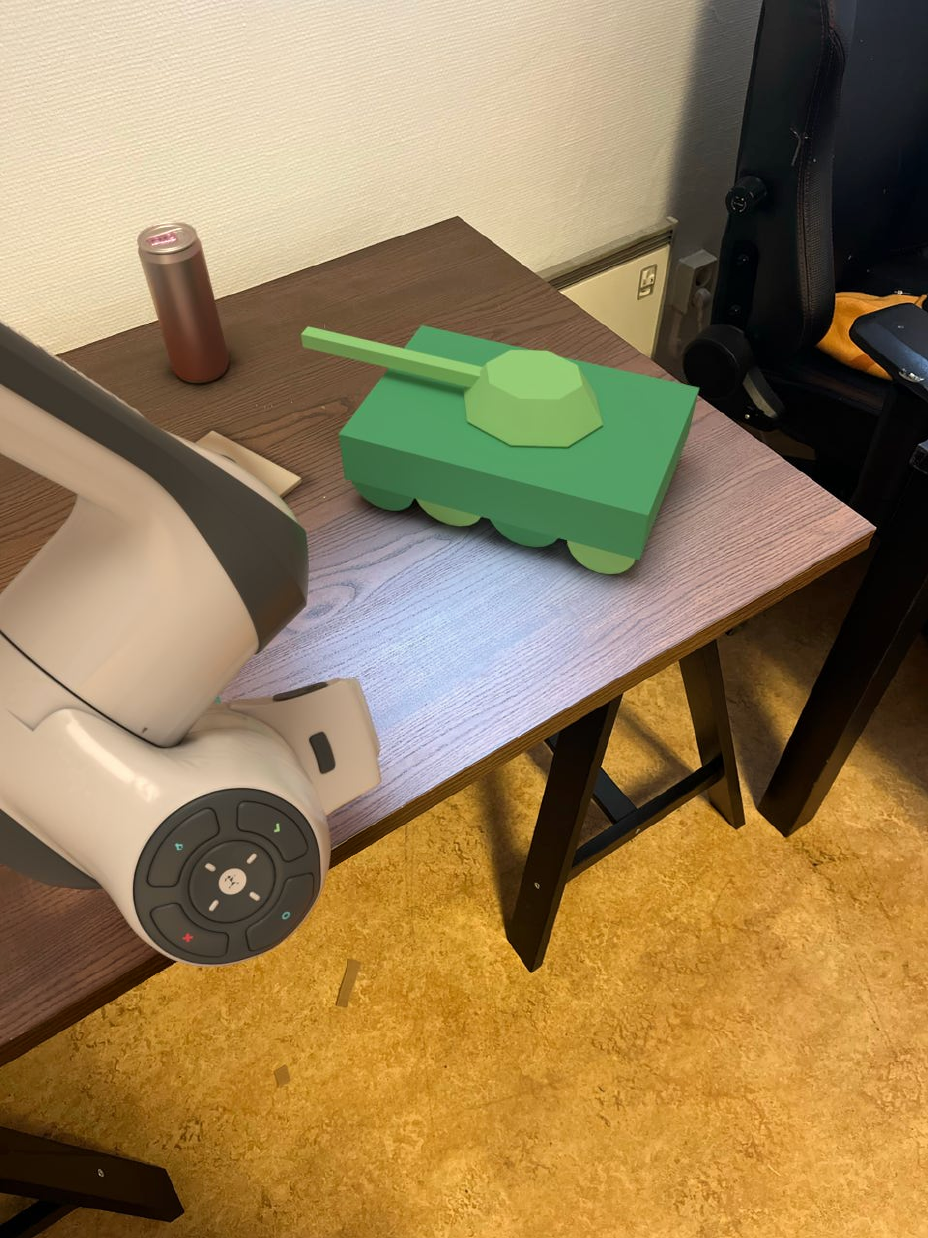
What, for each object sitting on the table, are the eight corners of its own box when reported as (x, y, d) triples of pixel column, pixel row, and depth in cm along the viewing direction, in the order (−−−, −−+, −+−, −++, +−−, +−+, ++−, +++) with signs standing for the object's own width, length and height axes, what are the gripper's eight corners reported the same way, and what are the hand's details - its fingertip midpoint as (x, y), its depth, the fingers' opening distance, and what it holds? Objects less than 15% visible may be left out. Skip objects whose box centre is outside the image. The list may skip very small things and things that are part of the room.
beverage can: (168, 361, 102) (128, 228, 90) (221, 347, 103) (189, 214, 92) (181, 391, 98) (142, 258, 87) (237, 376, 100) (205, 243, 88)
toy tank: (345, 273, 90) (707, 351, 81) (357, 380, 99) (683, 461, 91) (251, 377, 80) (655, 479, 71) (274, 486, 89) (633, 588, 80)
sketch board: (176, 584, 81) (173, 578, 81) (85, 526, 86) (83, 520, 85) (302, 482, 89) (301, 476, 89) (213, 434, 94) (212, 428, 93)
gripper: (34, 922, 47) (65, 847, 61) (409, 773, 53) (362, 734, 66) (-11, 808, 47) (30, 756, 60) (374, 668, 52) (334, 649, 65)
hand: (207, 744), depth 63 cm, fingers closed on dot marker, 3 cm apart
